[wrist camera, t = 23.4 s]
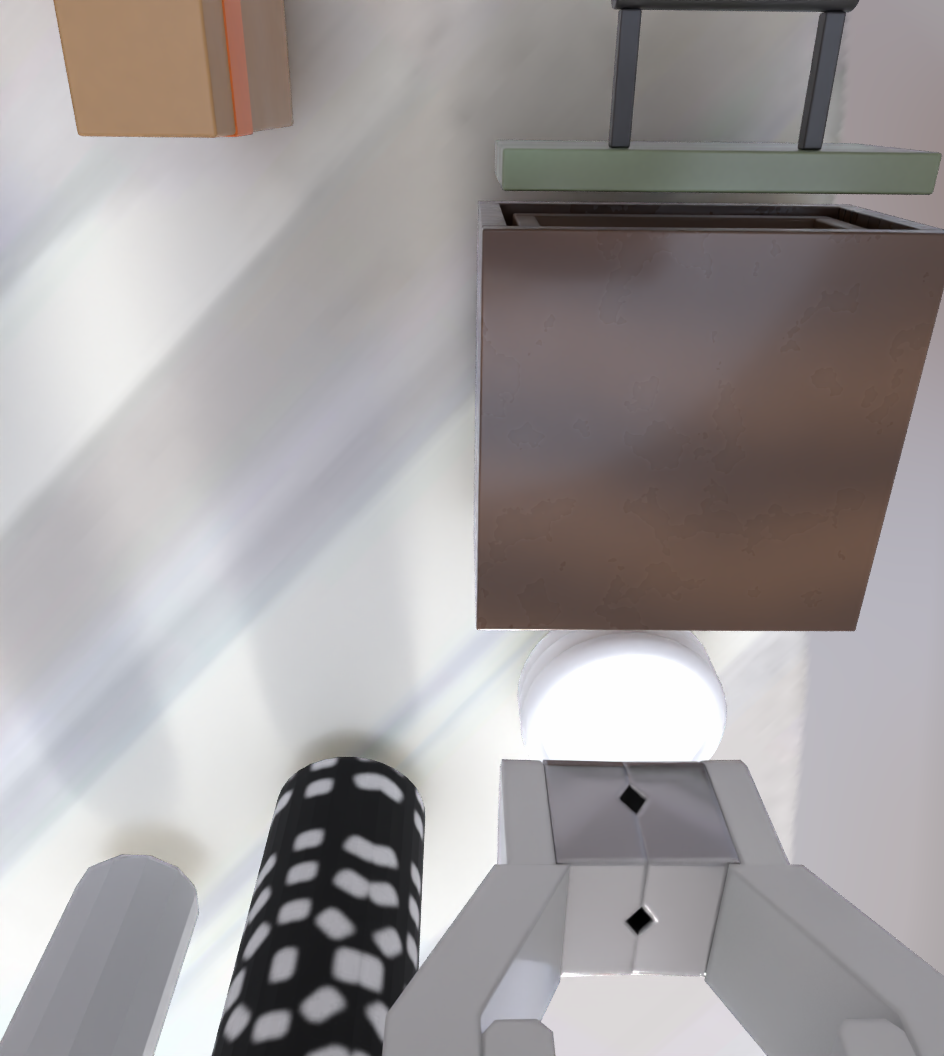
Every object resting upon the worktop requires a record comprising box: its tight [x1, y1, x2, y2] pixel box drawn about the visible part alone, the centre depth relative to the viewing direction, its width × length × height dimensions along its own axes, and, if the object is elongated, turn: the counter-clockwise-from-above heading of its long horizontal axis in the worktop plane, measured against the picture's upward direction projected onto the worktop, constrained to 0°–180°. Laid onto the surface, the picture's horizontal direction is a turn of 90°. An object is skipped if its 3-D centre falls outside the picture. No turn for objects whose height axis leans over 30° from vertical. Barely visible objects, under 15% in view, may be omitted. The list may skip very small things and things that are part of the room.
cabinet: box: [474, 201, 944, 631], centre depth 33 cm, size 15×15×8 cm
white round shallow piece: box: [518, 630, 727, 762], centre depth 42 cm, size 10×10×4 cm
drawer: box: [495, 0, 942, 229], centre depth 30 cm, size 19×13×6 cm
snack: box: [53, 0, 293, 138], centre depth 25 cm, size 6×4×11 cm, turn 179°
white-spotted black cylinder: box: [212, 757, 425, 1056], centre depth 38 cm, size 8×8×20 cm
